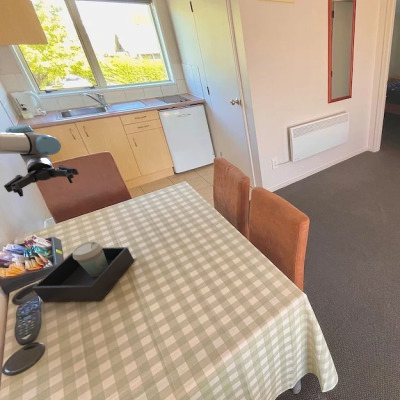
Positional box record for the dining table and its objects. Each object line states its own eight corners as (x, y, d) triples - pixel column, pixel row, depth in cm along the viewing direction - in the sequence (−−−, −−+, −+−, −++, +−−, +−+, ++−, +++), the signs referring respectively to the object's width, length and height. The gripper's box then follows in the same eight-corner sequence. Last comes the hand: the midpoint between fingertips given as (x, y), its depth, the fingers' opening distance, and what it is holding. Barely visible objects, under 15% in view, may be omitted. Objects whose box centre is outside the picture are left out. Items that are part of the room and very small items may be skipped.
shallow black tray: (43, 301, 91) (31, 288, 87) (85, 261, 108) (77, 247, 104) (100, 300, 91) (91, 286, 87) (134, 260, 108) (127, 247, 104)
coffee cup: (103, 280, 98) (88, 256, 91) (80, 280, 98) (63, 256, 91) (118, 263, 105) (105, 240, 99) (97, 263, 105) (83, 240, 99)
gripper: (83, 168, 117) (92, 183, 105) (3, 188, 102) (2, 208, 90) (74, 152, 113) (83, 166, 101) (-10, 170, 98) (-12, 189, 86)
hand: (45, 186), depth 95 cm, fingers open, 13 cm apart
